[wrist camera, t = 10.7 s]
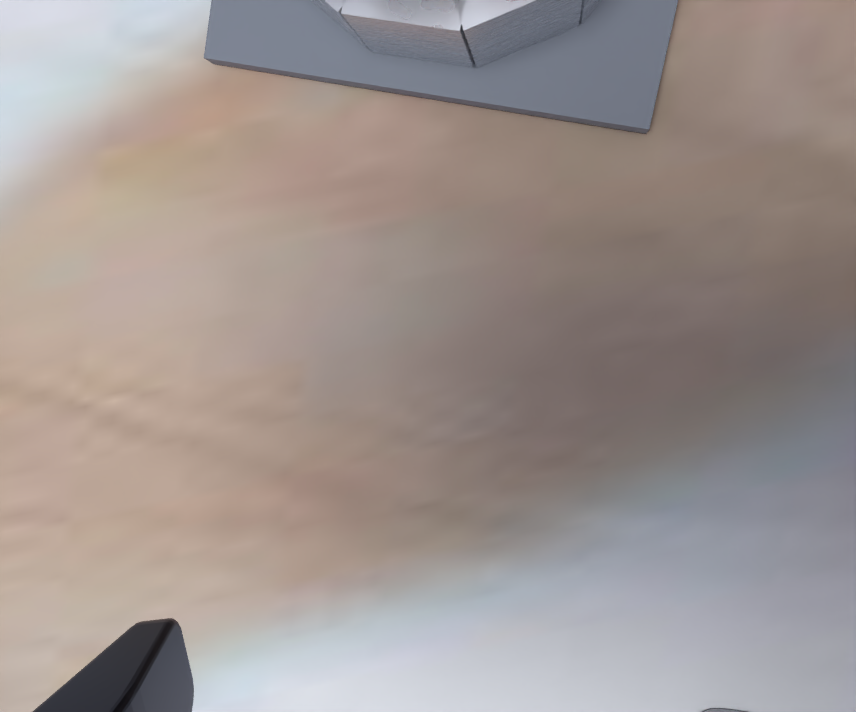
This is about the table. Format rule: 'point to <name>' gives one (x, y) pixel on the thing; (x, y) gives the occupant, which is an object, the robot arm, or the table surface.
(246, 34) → the socket plate
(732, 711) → the key chain
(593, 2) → the cup ring
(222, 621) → the table surface
